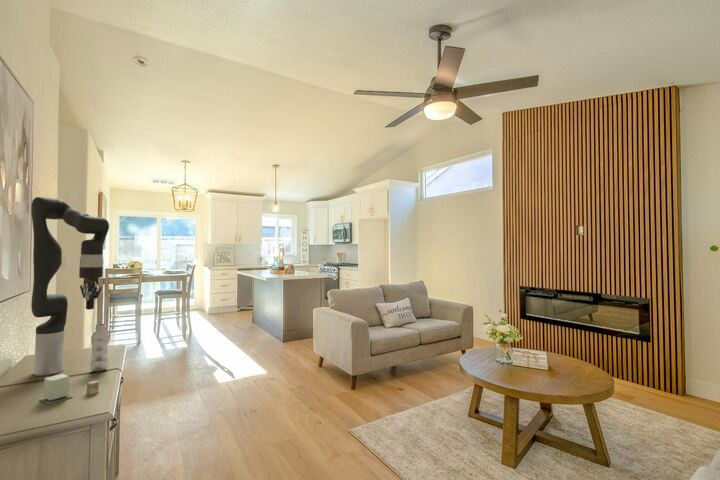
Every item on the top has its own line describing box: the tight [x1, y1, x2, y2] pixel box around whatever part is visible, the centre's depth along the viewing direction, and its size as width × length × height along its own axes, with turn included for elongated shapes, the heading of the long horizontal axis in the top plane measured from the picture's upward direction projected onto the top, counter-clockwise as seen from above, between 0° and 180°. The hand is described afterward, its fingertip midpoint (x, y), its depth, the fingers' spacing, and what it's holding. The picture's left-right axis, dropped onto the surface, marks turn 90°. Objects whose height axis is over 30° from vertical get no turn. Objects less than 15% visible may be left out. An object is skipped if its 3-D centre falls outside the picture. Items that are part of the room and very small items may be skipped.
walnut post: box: [38, 394, 74, 406], centre depth 123 cm, size 7×7×7 cm
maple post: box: [86, 380, 100, 396], centre depth 128 cm, size 3×3×4 cm
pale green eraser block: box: [43, 373, 70, 400], centre depth 123 cm, size 5×5×7 cm
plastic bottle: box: [89, 323, 110, 373], centre depth 152 cm, size 6×7×20 cm
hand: (89, 309), depth 139 cm, fingers closed
